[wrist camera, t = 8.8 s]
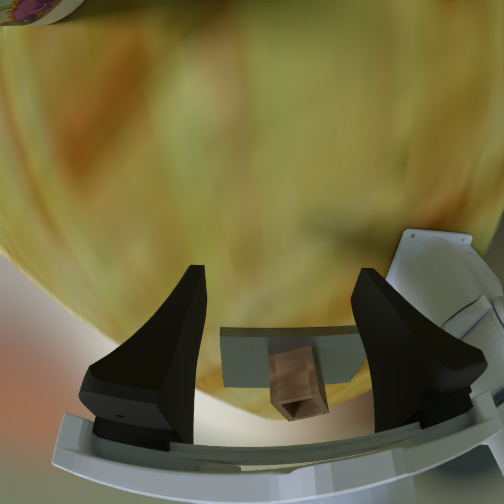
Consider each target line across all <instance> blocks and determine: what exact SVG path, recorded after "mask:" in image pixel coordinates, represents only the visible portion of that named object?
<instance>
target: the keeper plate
mask: <svg viewBox="0 0 504 504" xmlns="http://www.w3.org/2000/svg"><path fill="white" fill-rule="evenodd" d="M310 345H311V347H312V349H313V352H314V354H315V357H316V359H317V361H318V364H319V366H320V369H321V371H322V376H323V381H324V385H325V384H336V383H345V382H350V381H351V380H352V378H353V377H354V375H355V374H356V372H357V371H358V369H359V368H360V366H361V365H362V363H363V361H364V360H365V358H366V357H367V356H366V352H365V349H364V346H363V343H362V340H361V337H360V334H359V331H358V328H357V326H339V327H316V328H223V327H220V347H221V360H222V371H223V382H224V387H240V388H269V387H270V381H269V364H268V356H271V355H275V354H280V353H284V352H288V351H292V350H296V349H299V348H303V347H307V346H310Z"/></svg>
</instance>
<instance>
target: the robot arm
mask: <svg viewBox="0 0 504 504" xmlns="http://www.w3.org/2000/svg"><path fill="white" fill-rule="evenodd" d="M413 233H414V234H413ZM412 234H413V235H412ZM411 235H412V236H411ZM472 239H473V237H472V235H471V234H465V233H455V232H444V231H433V230H421V229H406V230H405V231H404V232H403V235H402V238H401V240H400V243H399V246H398V249H397V251H396V254H395V257H394V259H393V262H392V264H391V267H390V269H389V272H388V274H387V277H386V279H384V278H383V277H382V276H381V275H380V274H379V273H378V272H377V271H376V270H375V269H373V268H361V271H360V274H359V277H358V279H357V282H356V285H355V288H354V291H353V293H352V296H351V299H350V300H351V305H352V310H353V315H354V319H355V322H356V325H357V328H358V331H359V334H360V337H361V340H362V343H363V346H364V349H365V352H366V356H367V360H368V364H369V369H370V375H371V381H372V389H373V398H374V411H375V433H374V434H369V435H365V436H360V437H354V438H349V439H343V440H337V441H330V442H322V443H313V444H304V445H292V446H275V447H222V446H205V445H193V422H194V395H195V379H196V367H197V360H198V354H199V349H200V344H201V339H202V334H203V329H204V324H205V319H206V308H207V290H206V278H205V266H204V265H190V266H189V267H188V269H187V270H186V272H185V274H184V275H183V277H182V278H181V280H180V281H179V283H178V284H177V286H176V287H175V288H174V290H173V291H172V292H171V294H170V295H169V297H168V298H167V299H166V300H165V302H164V303H163V304H162V305H161V306H160V308H159V309H158V310H157V311H156V312H155V314H154V315H153V316H152V317H151V318H150V319H149V320H148V321H147V322H146V323H145V324H144V325H143V326H142V327H141V328H140V329H139V330H138V331H137V332H136V333H135V334H134V335H132V336H131V337H130V338H129V339H128V340H127V341H125V342H124V343H123V344H121V345H120V346H119V347H118V348H116V349H115V350H114V351H112V352H111V353H110V354H108V355H107V356H105V357H103V358H102V359H100V360H98V361H97V362H95V363H94V364H92V365H90V366H89V368H88V370H87V372H86V374H85V376H84V379H83V382H82V385H81V389H80V392H79V395H78V396H79V399H80V401H81V402H82V403H83V404H84V405H85V406H86V407H87V408H88V409H89V410H90V411H91V412H92V413H93V414H94V415H95V416H96V418H95V422H92V421H90V420H88V419H85V418H82V417H78V416H75V415H72V414H69V413H64V415H63V418H62V422H61V426H60V429H59V433H58V437H57V441H56V446H55V450H54V454H53V459H52V464H53V465H55V466H57V467H59V468H61V469H63V470H66V471H69V472H71V473H73V474H75V475H78V476H80V477H83V478H86V479H88V480H92V481H94V482H97V483H100V484H104V485H107V486H110V487H113V488H117V489H120V490H124V491H128V492H132V493H136V494H140V495H145V496H150V497H154V498H160V499H165V500H171V501H178V502H186V503H194V504H417V501H416V495H415V489H414V483H413V478H412V476H415V475H417V474H420V473H422V472H425V471H427V470H430V469H432V468H434V467H437V466H439V465H441V464H443V463H445V462H447V461H449V460H451V459H453V458H456V457H458V456H459V455H461V454H463V453H465V452H467V451H469V450H471V449H473V448H474V447H476V446H478V445H480V444H484V445H488V446H489V447H490V449H491V451H492V453H493V455H494V457H495V459H496V461H497V463H498V465H499V467H500V469H501V471H502V473H503V475H504V296H503V291H502V287H501V284H500V282H499V280H498V278H497V277H496V276H495V274H494V273H493V272H492V270H491V269H490V268H489V267H488V265H487V264H486V263H485V262H484V260H483V259H482V258H481V257H480V256H479V254H478V253H477V252H476V251H475V250H474V249H473V248H472V246H471V245H470V244H471V242H472ZM378 449H379V450H378ZM374 450H377V451H375V452H371V453H367V454H362V455H357V456H353V457H347V458H342V459H336V460H329V461H324V462H318V463H313V464H308V465H304V466H297V467H288V468H279V469H268V470H255V471H241V468H240V467H239V466H233V465H279V464H293V463H304V462H313V461H321V460H328V459H334V458H340V457H346V456H351V455H356V454H361V453H366V452H370V451H374Z"/></svg>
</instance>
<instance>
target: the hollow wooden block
mask: <svg viewBox="0 0 504 504" xmlns="http://www.w3.org/2000/svg"><path fill="white" fill-rule="evenodd" d="M268 364H269V381H270V397H271V404H272V405H273V406H274V407H275V408H276V409H277V410H278V411H279V412H280V413H281V414H282V415H283V416H284V417H285V418H286V419H287V420H288V421H294V420H299V419H304V418H309V417H313V416H317V415H322V414H326V413H329V410H328V404H327V398H326V392H325V387H324V381H323V376H322V371H321V369H320V366H319V364H318V361H317V359H316V357H315V354H314V352H313V349H312V347H311V345H310V346H307V347H303V348H299V349H296V350H292V351H288V352H284V353H280V354H275V355H271V356H268Z"/></svg>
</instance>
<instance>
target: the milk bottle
mask: <svg viewBox="0 0 504 504" xmlns="http://www.w3.org/2000/svg"><path fill="white" fill-rule="evenodd" d="M84 1H85V0H0V26H16V25H48V24H51V23H54V22H56V21H58V20H60V19H62V18H64V17H66V16H67V15H68V14H70V13H71V12H73V11H74V10H75V9H76V8H77V7H79V6H80V5H81V4H82V3H83V2H84Z"/></svg>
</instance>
